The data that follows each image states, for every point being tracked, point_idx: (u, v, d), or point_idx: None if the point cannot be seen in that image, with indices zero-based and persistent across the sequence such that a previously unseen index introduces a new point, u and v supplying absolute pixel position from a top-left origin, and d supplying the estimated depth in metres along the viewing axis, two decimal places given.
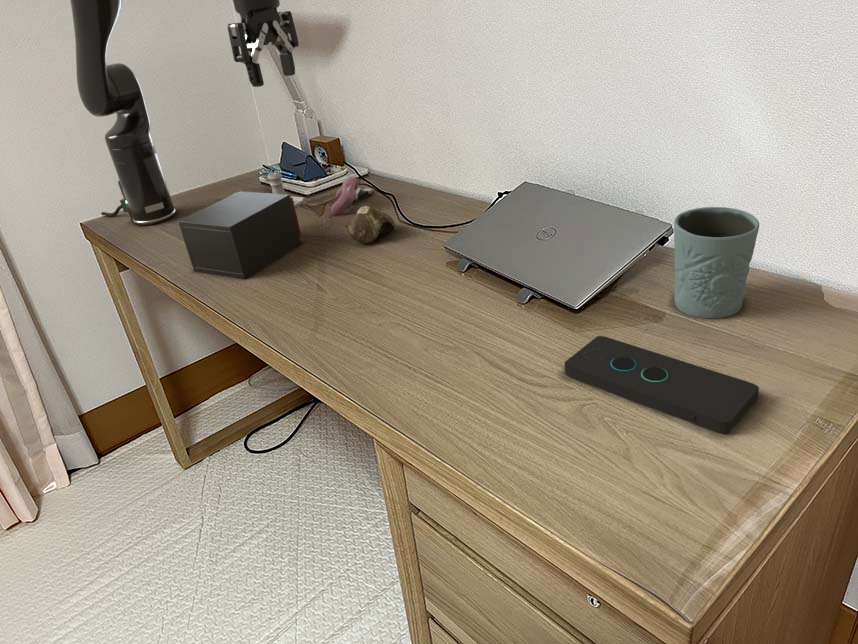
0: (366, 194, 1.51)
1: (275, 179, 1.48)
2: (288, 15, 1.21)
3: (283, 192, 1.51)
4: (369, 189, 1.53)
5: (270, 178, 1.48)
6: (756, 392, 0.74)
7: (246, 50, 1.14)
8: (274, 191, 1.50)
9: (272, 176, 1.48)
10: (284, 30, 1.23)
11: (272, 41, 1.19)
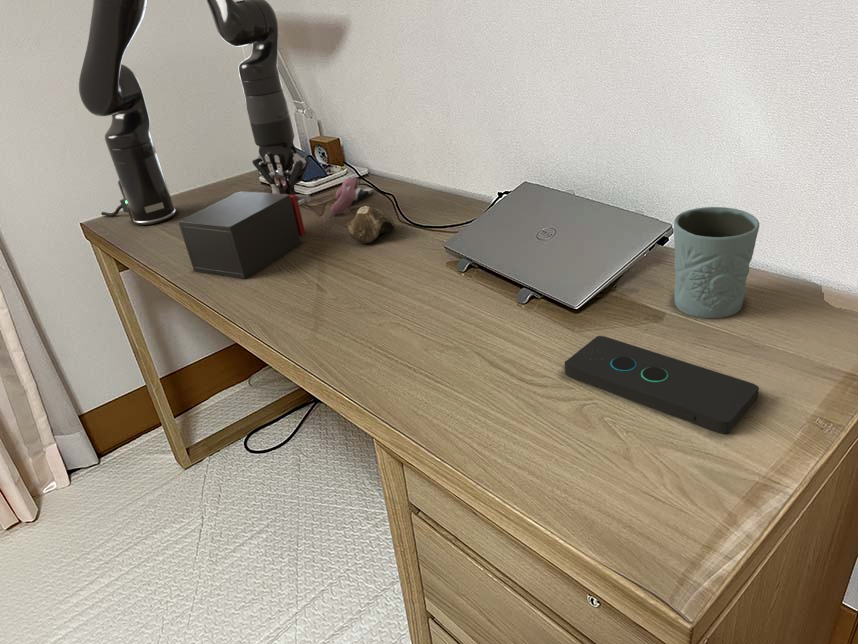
0: (366, 194, 1.51)
1: None
2: (296, 163, 1.30)
3: None
4: (369, 189, 1.53)
5: None
6: (756, 392, 0.74)
7: (267, 176, 1.35)
8: (274, 191, 1.50)
9: None
10: None
11: None
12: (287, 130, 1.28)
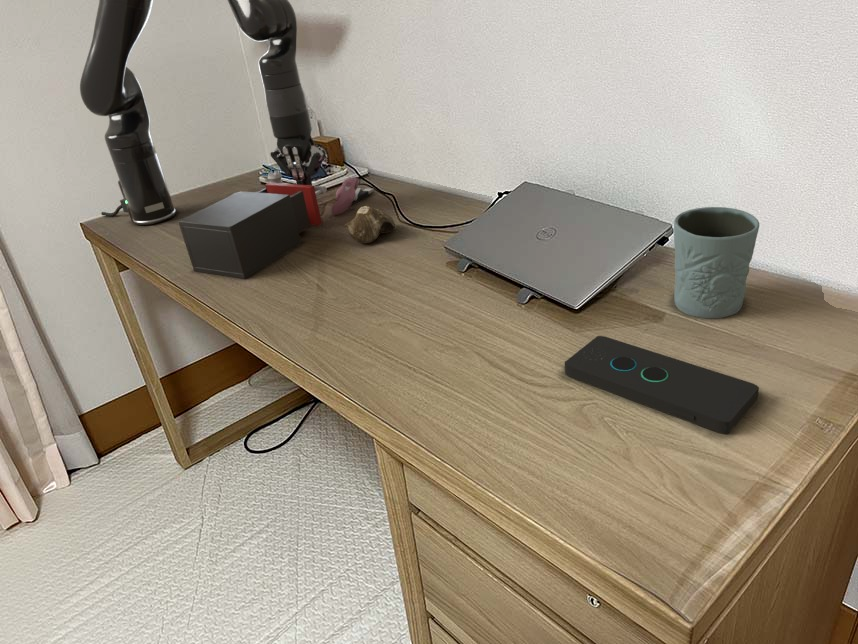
0: (366, 194, 1.51)
1: (275, 179, 1.48)
2: (314, 155, 1.34)
3: None
4: (369, 189, 1.53)
5: (270, 178, 1.48)
6: (756, 392, 0.74)
7: (284, 168, 1.39)
8: None
9: (272, 176, 1.48)
10: None
11: None
12: (305, 122, 1.32)
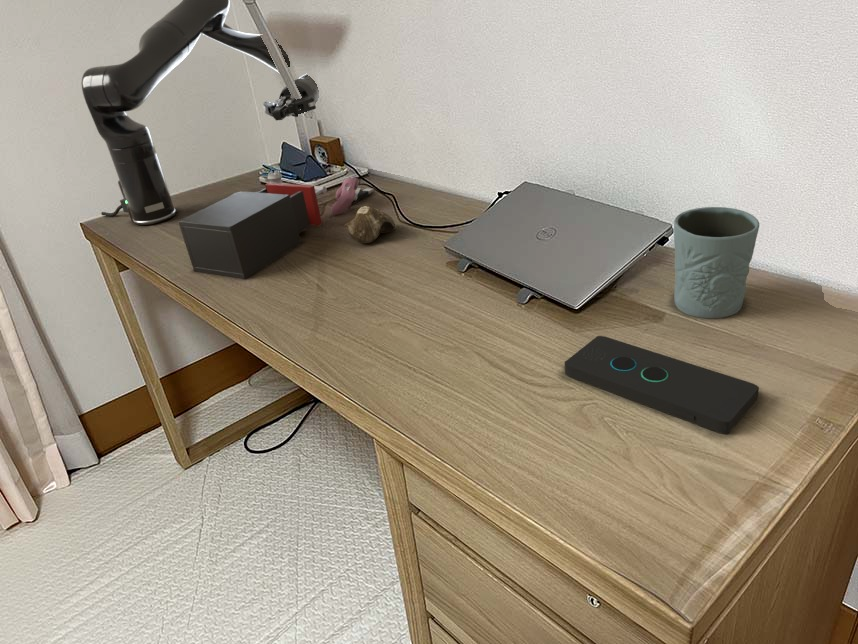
0: (366, 194, 1.51)
1: (275, 179, 1.48)
2: (310, 97, 1.58)
3: None
4: (369, 189, 1.53)
5: (270, 178, 1.48)
6: (756, 392, 0.74)
7: (271, 104, 1.57)
8: None
9: (272, 176, 1.48)
10: None
11: None
12: None
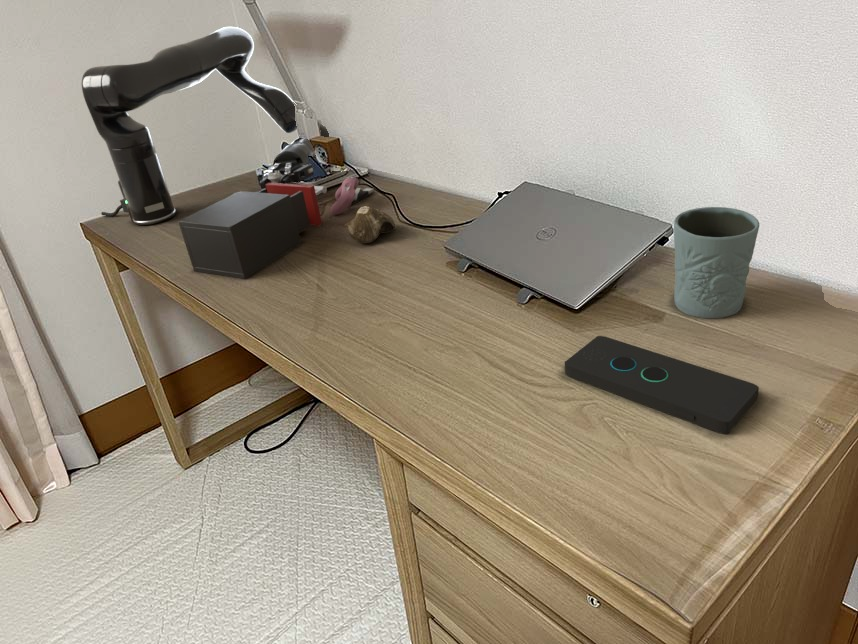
0: (366, 194, 1.51)
1: (275, 179, 1.48)
2: (307, 164, 1.54)
3: None
4: (369, 189, 1.53)
5: (270, 178, 1.48)
6: (756, 392, 0.74)
7: (260, 173, 1.53)
8: None
9: (272, 176, 1.48)
10: None
11: (283, 170, 1.53)
12: (306, 163, 1.60)
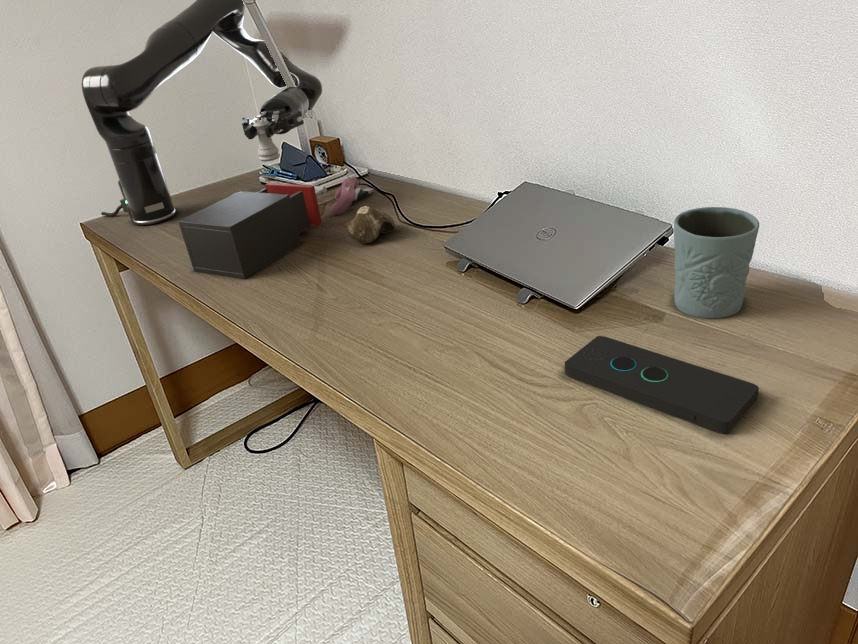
0: (366, 194, 1.51)
1: (262, 126, 1.36)
2: (297, 112, 1.42)
3: (271, 141, 1.39)
4: (369, 189, 1.53)
5: (256, 125, 1.36)
6: (756, 392, 0.74)
7: (245, 121, 1.41)
8: (261, 140, 1.38)
9: (258, 123, 1.36)
10: None
11: (270, 118, 1.41)
12: (296, 112, 1.48)
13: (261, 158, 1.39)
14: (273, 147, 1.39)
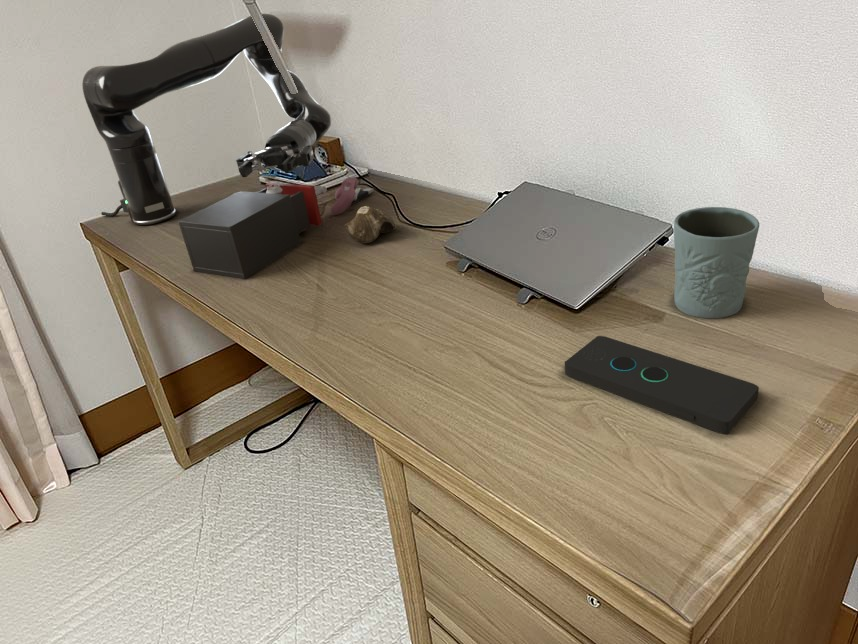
0: (366, 194, 1.51)
1: None
2: (306, 146, 1.36)
3: None
4: (369, 189, 1.53)
5: None
6: (756, 392, 0.74)
7: (242, 157, 1.35)
8: None
9: (271, 191, 1.32)
10: None
11: (276, 154, 1.34)
12: (303, 148, 1.40)
13: None
14: None
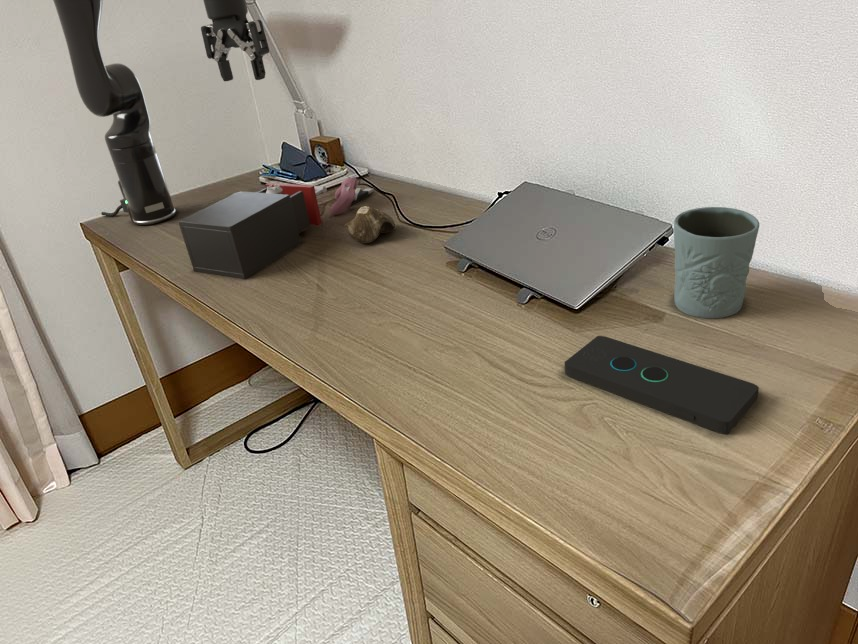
0: (366, 194, 1.51)
1: None
2: (249, 25, 1.27)
3: None
4: (369, 189, 1.53)
5: None
6: (756, 392, 0.74)
7: (208, 49, 1.35)
8: None
9: (271, 191, 1.32)
10: None
11: (234, 46, 1.31)
12: (240, 1, 1.27)
13: None
14: None
